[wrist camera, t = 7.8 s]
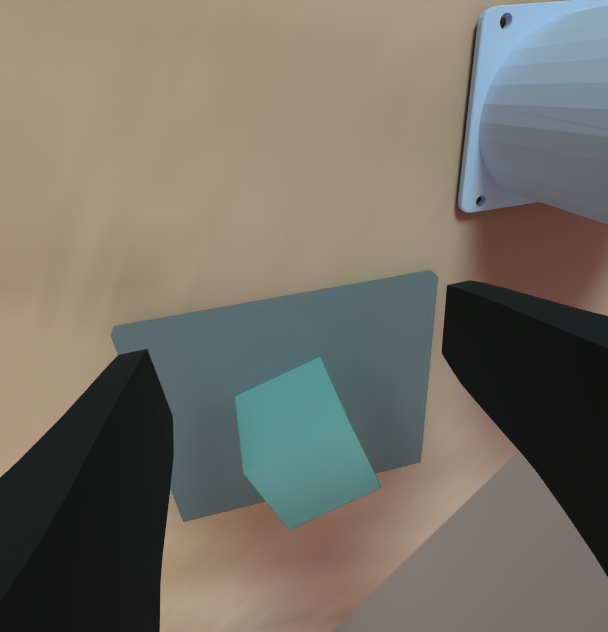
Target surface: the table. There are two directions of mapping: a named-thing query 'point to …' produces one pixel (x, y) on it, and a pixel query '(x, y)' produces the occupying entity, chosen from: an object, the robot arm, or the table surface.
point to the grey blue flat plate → (283, 356)
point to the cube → (301, 445)
